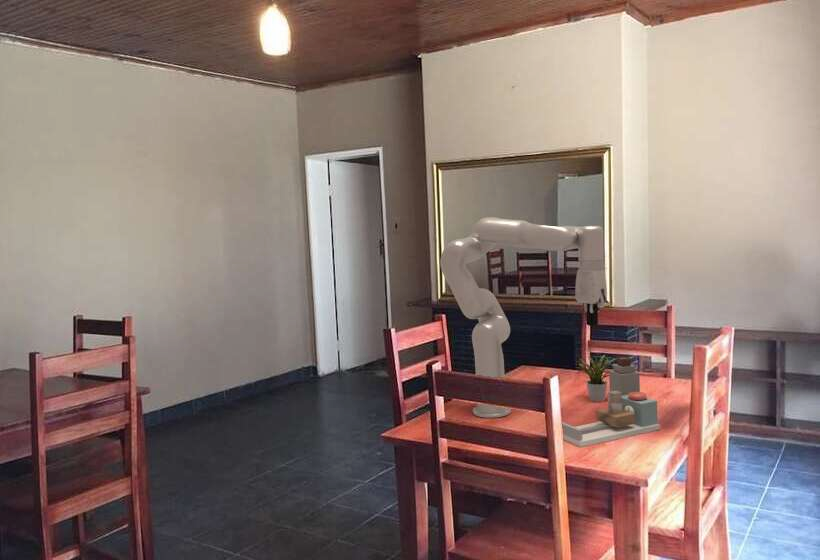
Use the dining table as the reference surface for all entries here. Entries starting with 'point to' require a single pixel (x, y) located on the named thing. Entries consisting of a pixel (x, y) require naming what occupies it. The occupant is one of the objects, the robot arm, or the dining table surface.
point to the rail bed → (601, 432)
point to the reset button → (637, 396)
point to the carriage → (615, 412)
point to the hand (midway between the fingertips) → (592, 324)
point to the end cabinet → (641, 410)
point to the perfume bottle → (624, 377)
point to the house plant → (596, 379)
